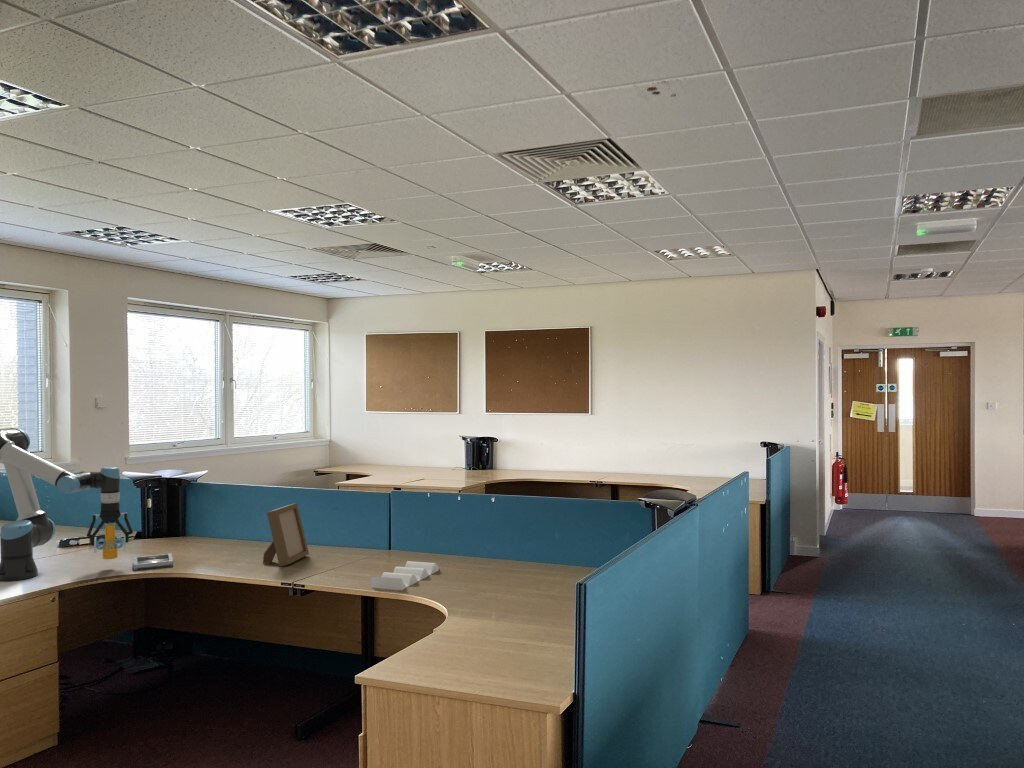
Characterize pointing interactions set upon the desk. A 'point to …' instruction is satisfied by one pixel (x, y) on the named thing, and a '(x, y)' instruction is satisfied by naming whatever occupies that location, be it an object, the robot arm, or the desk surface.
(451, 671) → the desk surface
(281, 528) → the photo frame
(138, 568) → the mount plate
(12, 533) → the robot arm
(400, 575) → the white zigzag rack
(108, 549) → the orange block with rings
